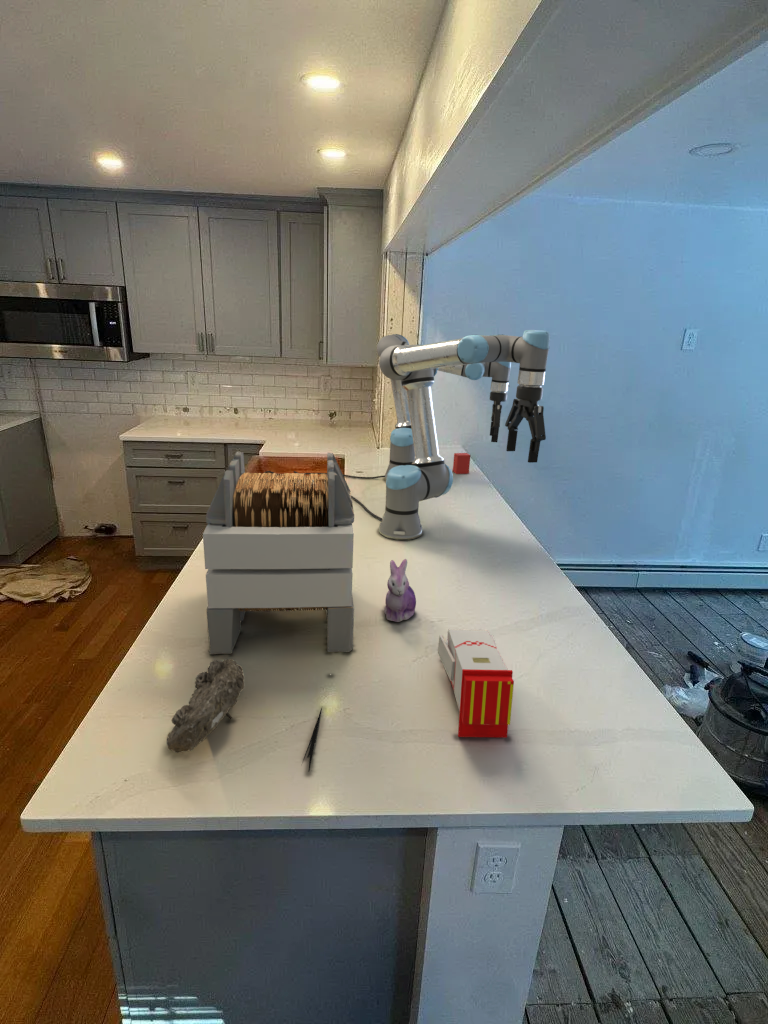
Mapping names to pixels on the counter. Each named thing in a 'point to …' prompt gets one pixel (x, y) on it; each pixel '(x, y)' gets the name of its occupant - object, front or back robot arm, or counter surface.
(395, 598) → the figurine
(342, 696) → the counter surface
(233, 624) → the record crate
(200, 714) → the fossil
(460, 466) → the block
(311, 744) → the feather
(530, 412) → the front robot arm
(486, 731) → the toy
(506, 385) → the back robot arm
